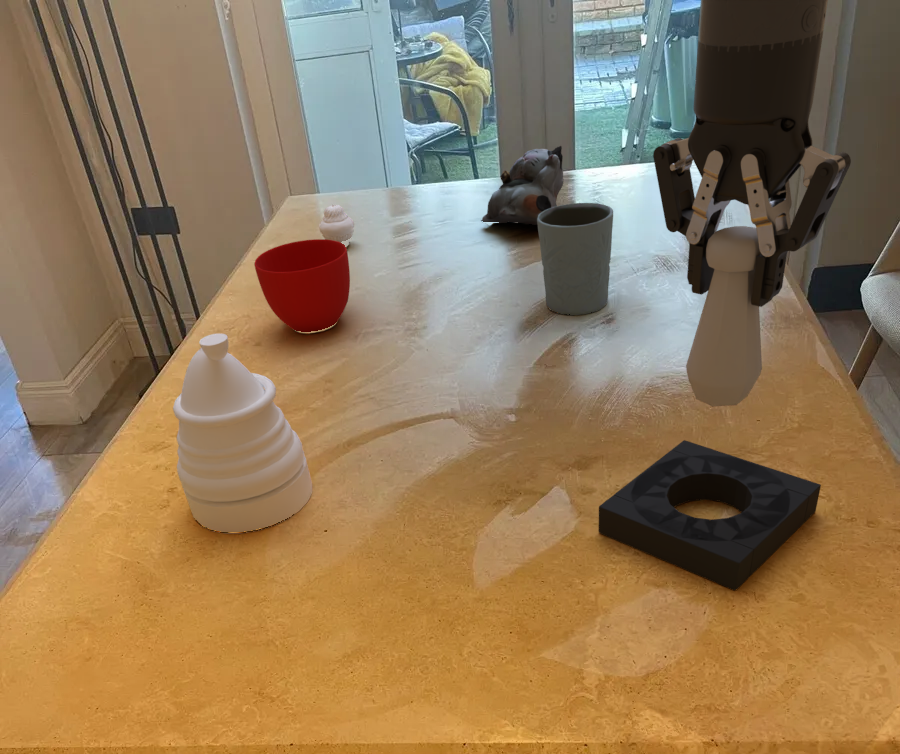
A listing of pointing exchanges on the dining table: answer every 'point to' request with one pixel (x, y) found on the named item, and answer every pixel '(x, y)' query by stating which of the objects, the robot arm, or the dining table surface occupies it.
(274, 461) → the honey pot
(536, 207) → the lucky cat figurine
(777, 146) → the robot arm
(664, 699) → the dining table surface
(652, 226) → the dining table surface
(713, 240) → the cream tapered peg
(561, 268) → the drinking glass
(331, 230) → the muffin
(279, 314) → the ceramic cup
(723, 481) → the base pad
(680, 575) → the dining table surface
